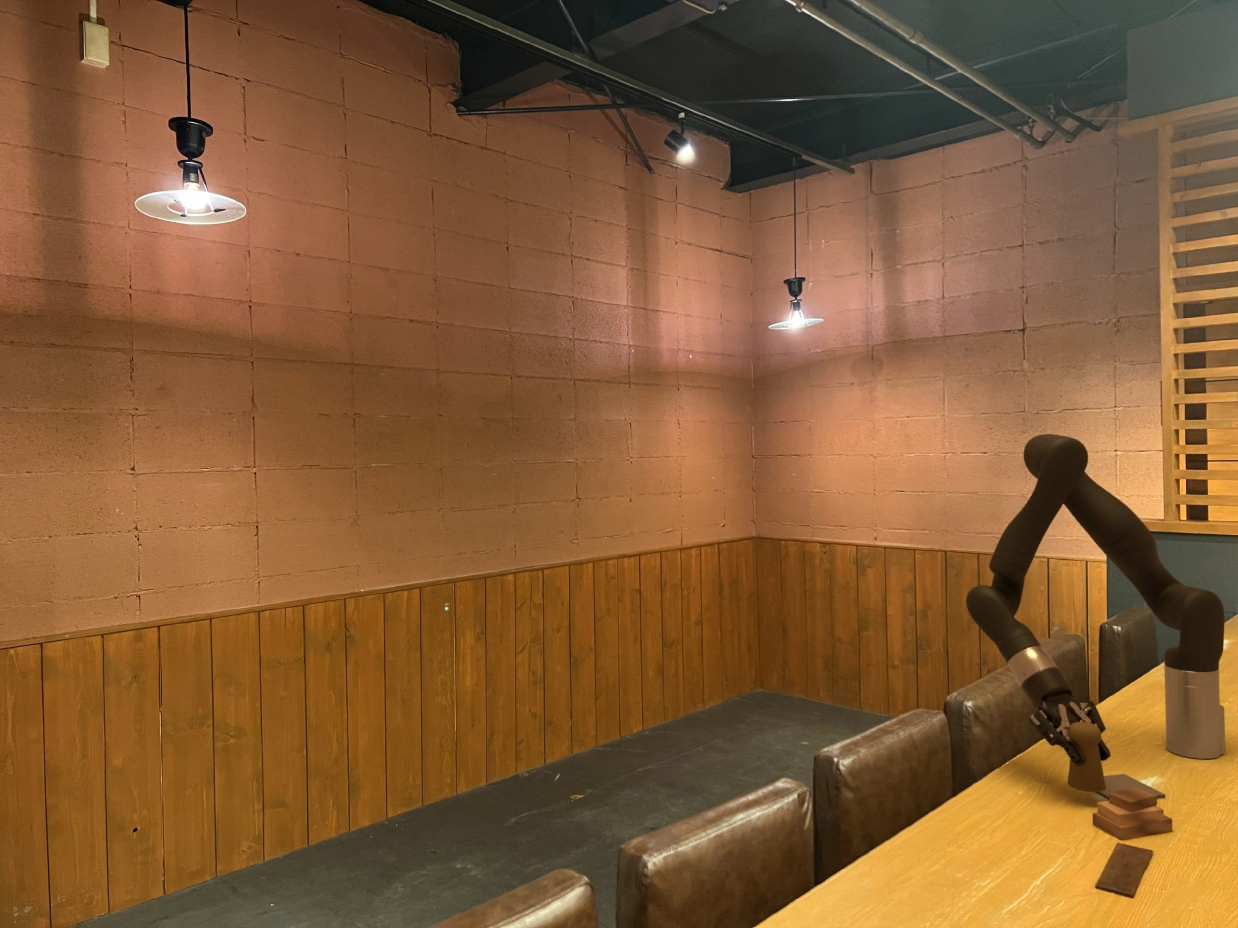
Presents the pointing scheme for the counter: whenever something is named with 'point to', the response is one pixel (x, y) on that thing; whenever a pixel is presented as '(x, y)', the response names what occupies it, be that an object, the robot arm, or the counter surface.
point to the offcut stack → (1131, 815)
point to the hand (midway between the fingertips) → (1094, 760)
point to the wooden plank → (1124, 870)
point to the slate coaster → (1125, 785)
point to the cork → (1087, 759)
